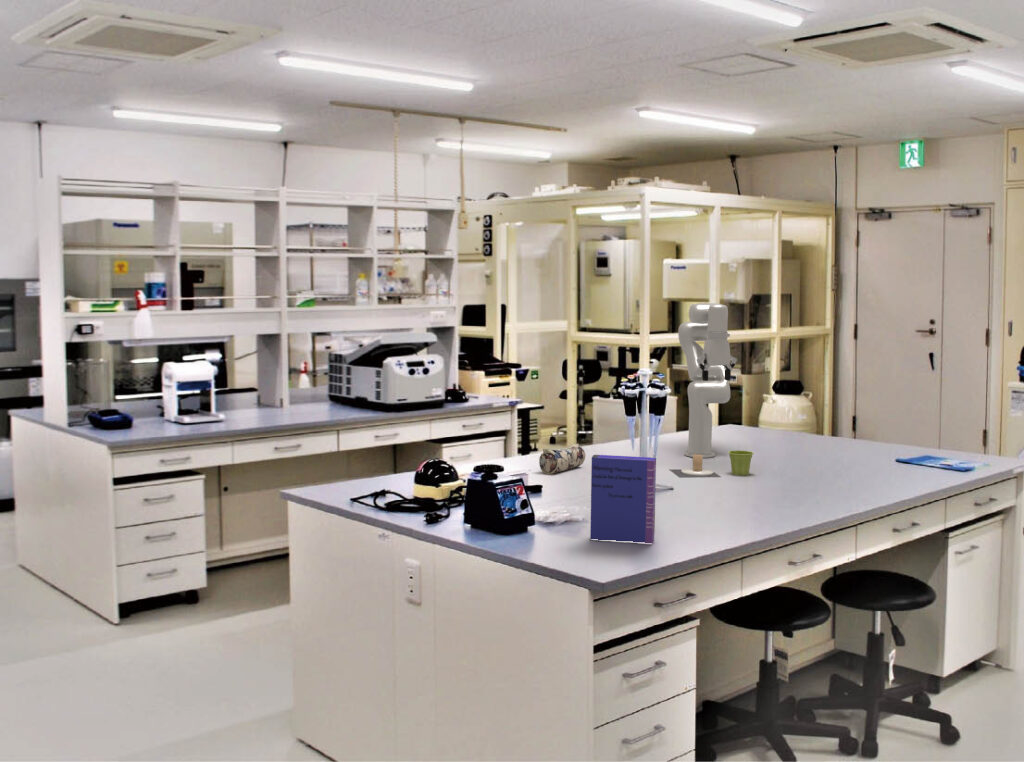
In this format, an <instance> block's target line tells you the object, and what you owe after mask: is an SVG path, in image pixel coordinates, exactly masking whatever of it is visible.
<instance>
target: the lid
mask: <svg viewBox="0 0 1024 762" xmlns="http://www.w3.org/2000/svg"><path fill="white" fill-rule="evenodd" d="M703 460H704V458H703V455H701V454H693V457H692V467H685V468H681V469H682V470H681V473H682V474H685V475H690V476H710V475H713V472H715V471H714V470H713V469H711V468H706V467H705V468H703Z"/></svg>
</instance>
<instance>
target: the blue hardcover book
mask: <svg viewBox="0 0 1024 762" xmlns="http://www.w3.org/2000/svg"><path fill="white" fill-rule="evenodd" d="M590 474H591V479H590V533H589V535H590V537H589V540H590V539H598V540H616V541H633V542H645V543H653V541H654V542H655V532H656V531H655V527H656V526H655V521H656V520H655V519H656V517H655V516H656V487H657V486H656V484H657V483H656V482H657V481H656V478H657V477H656V476H657V475H656V474H657V458H656V457H648V456H630V455H629V456H627V455H626V456H625V455H610V454H608V455H606V454H605V455H604V454H593V455H592V457H591V473H590ZM653 544H654V543H653Z"/></svg>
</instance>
